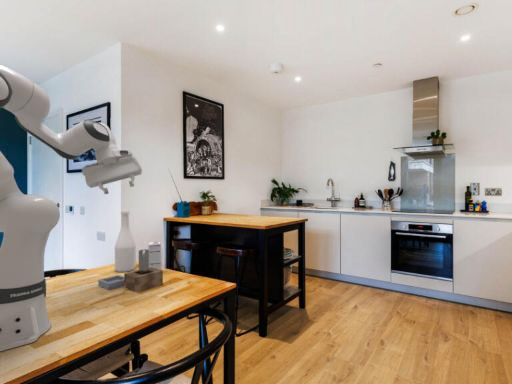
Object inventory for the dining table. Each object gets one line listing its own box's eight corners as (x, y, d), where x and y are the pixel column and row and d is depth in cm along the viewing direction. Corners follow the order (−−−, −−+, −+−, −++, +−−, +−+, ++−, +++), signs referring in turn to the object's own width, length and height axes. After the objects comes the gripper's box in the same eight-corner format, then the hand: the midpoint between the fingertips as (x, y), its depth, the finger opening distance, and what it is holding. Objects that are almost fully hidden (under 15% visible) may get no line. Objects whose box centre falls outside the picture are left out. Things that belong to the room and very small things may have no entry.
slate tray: (109, 290, 120) (109, 283, 120) (98, 285, 125) (98, 279, 125) (130, 284, 127) (130, 278, 127) (118, 280, 132) (118, 274, 132)
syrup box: (161, 273, 143) (161, 243, 143) (148, 274, 141) (148, 244, 141) (160, 270, 149) (160, 241, 148) (148, 271, 146) (148, 242, 146)
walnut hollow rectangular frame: (136, 292, 117) (136, 277, 117) (124, 288, 122) (124, 273, 122) (162, 284, 127) (162, 270, 127) (150, 280, 132) (150, 267, 132)
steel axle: (142, 288, 122) (142, 251, 122) (136, 286, 124) (136, 250, 124) (151, 286, 125) (150, 250, 125) (145, 284, 127) (145, 249, 127)
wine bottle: (134, 271, 146) (134, 210, 146) (113, 273, 144) (112, 210, 143) (136, 266, 155) (136, 209, 155) (116, 268, 153) (116, 209, 152)
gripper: (78, 162, 112) (88, 194, 108) (134, 149, 120) (145, 178, 116) (82, 170, 118) (92, 201, 113) (136, 157, 125) (146, 185, 121)
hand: (119, 189), depth 115 cm, fingers open, 8 cm apart
